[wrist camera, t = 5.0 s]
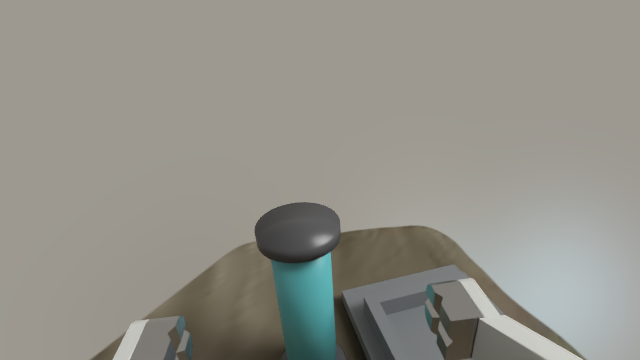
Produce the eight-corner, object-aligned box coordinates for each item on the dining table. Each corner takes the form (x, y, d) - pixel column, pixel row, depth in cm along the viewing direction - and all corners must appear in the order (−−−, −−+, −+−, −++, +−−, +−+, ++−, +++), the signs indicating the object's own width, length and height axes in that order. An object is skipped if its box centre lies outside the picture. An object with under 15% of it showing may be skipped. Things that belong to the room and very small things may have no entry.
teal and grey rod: (355, 392, 29) (351, 239, 22) (286, 413, 28) (258, 259, 21) (335, 334, 34) (327, 197, 27) (276, 350, 33) (251, 210, 26)
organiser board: (596, 434, 25) (611, 406, 23) (425, 500, 22) (430, 473, 21) (452, 273, 41) (456, 250, 39) (342, 301, 38) (341, 277, 36)
